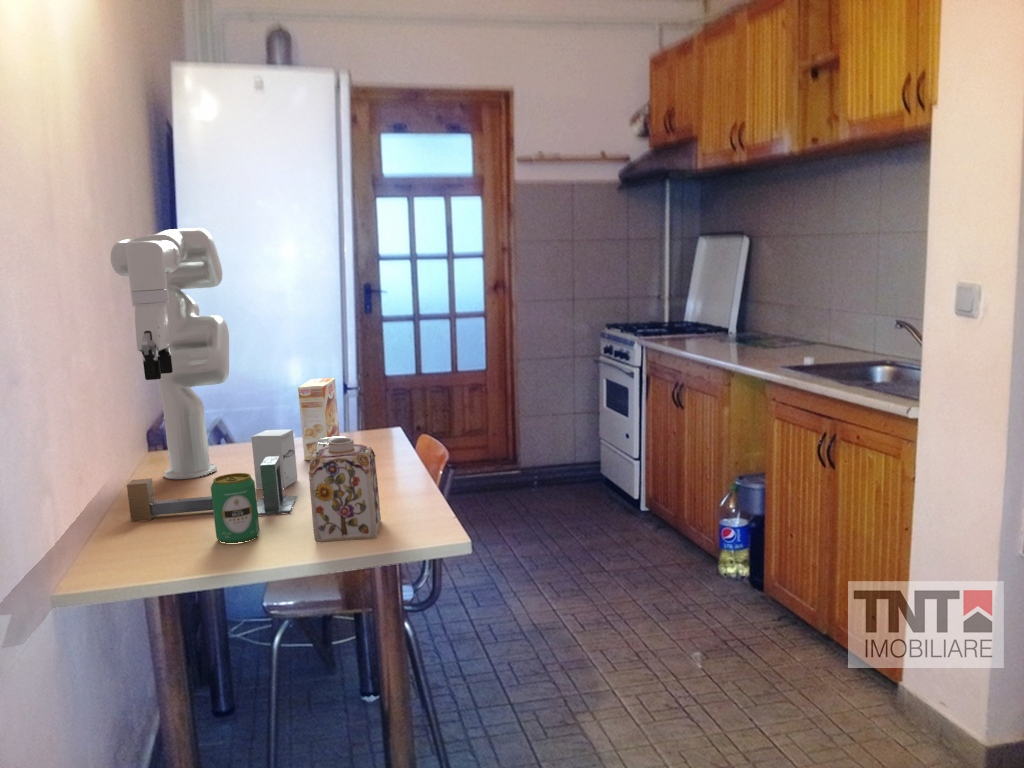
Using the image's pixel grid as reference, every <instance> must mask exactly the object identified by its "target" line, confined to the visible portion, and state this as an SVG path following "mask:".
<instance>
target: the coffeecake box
mask: <svg viewBox="0 0 1024 768" xmlns="http://www.w3.org/2000/svg"><path fill="white" fill-rule="evenodd" d="M297 391H298V401H299V402H298V403H299V414H300V415H299V416H300V423H301V424H300V425H301V436H302V447H303V461H310V460H311V455H312V454H313V453H314V451H316V441H317V440H320V439H323V438H329V437H341V436H340V422H339V412H338V411H339V410H338V400H337V398H338V397H337V389H336V378H335V377H323V378H311V379H309V380H308V381H306V382H304V383H303V384H301V385H299V386H297Z"/></svg>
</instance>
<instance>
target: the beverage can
mask: <svg viewBox="0 0 1024 768" xmlns="http://www.w3.org/2000/svg"><path fill="white" fill-rule="evenodd" d="M210 492H211V493H210V494H211V496H212V503H213V510H212V511H213V519H214V521H213V522H214V528H215V536H216V537H215V538H216V539H217V540H218V541H221V542H225V543H238V542H245V541H249V540H252V539H254V538H256V537H257V535H259V533H260V531H261V529H260V521H259V520H260V519H259V516H258V510H257V502H258V501H257V500H258V499H257V492H256V481H255V480H254V479H253V477H251V474H249V473H247V472H246V473H245V472H237V473H235V472H234V473H228V474H223V475H220V476H217V477H215V478H213V482H212V483H211V486H210ZM257 538H258V537H257ZM257 538H256V539H257ZM254 540H255V539H254ZM252 541H253V540H252Z"/></svg>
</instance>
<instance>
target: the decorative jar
mask: <svg viewBox="0 0 1024 768" xmlns="http://www.w3.org/2000/svg"><path fill="white" fill-rule="evenodd" d="M309 461H310V463H309V466H308V467H309V468H308V469H309V470H308V473H307V474H308V478H309V479H308V480H309V492H310V493H309V494H310V503H311V505H310V506H311V518H312V528H313V538H314V541H315V542H316V543H317V542H321V543H331V542H341V541H342V542H343V541H345V542H346V541H355V540H356V541H357V540H367V539H376V538H377V537H378V532H379V529H380V526H381V521H382V518H381V508H380V504H381V503H380V495H379V493H380V492H379V484H378V483H379V482H378V475H377V473H378V472H377V466H376V454H375V451H374V449H373V448H372V447H371V446H368V445H365V444H358V443H357V444H355V443H354V439H353V438H350V437H346V438H338V439H332V440H330V441H329V447H327V448H323V449H320V450H317V451H314V453H313V454H312V455H311V460H309Z"/></svg>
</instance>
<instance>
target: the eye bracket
mask: <svg viewBox="0 0 1024 768" xmlns="http://www.w3.org/2000/svg"><path fill="white" fill-rule="evenodd" d="M260 470H261V480H262V489H261V490H262V497H259V499H257V500H258V501H257V510H258V515H266V516H274V515H273V514H277V515H283V514H282V513H288V514H291V513H290V512H292V510H293V508H292V507H294V506H295V503H296V501H295V500H297V499H296V498H298V495H297V494H293V495H284V489H283V484H282V474H281V464H280V456H273V457H265V459H264V460H263V462H262V463H261V465H260ZM293 505H294V506H293Z"/></svg>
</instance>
